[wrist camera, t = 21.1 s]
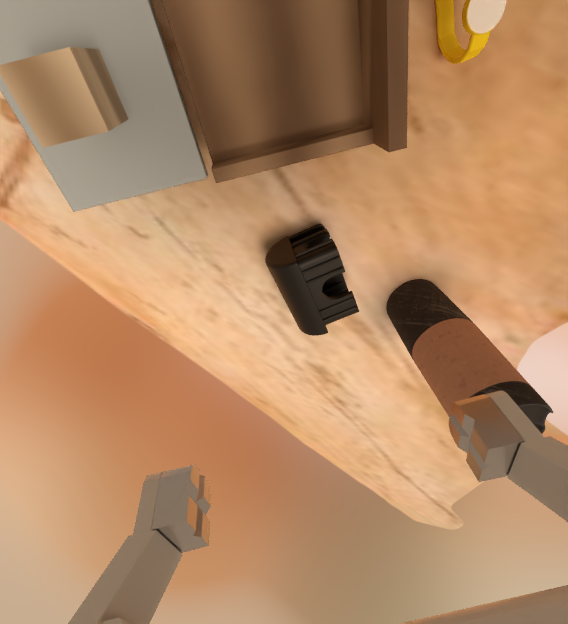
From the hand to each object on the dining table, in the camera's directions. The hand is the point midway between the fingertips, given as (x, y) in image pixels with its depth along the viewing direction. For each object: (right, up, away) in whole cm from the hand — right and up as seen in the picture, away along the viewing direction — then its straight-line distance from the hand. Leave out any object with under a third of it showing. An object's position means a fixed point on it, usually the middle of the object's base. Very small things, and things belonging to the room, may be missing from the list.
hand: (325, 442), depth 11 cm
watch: (+12, +28, +18) cm, 36 cm away
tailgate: (-9, +20, +12) cm, 25 cm away
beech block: (-15, +19, +12) cm, 27 cm away
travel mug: (+16, +6, +35) cm, 39 cm away
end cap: (+1, +10, +30) cm, 32 cm away
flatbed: (-2, +26, +17) cm, 31 cm away
